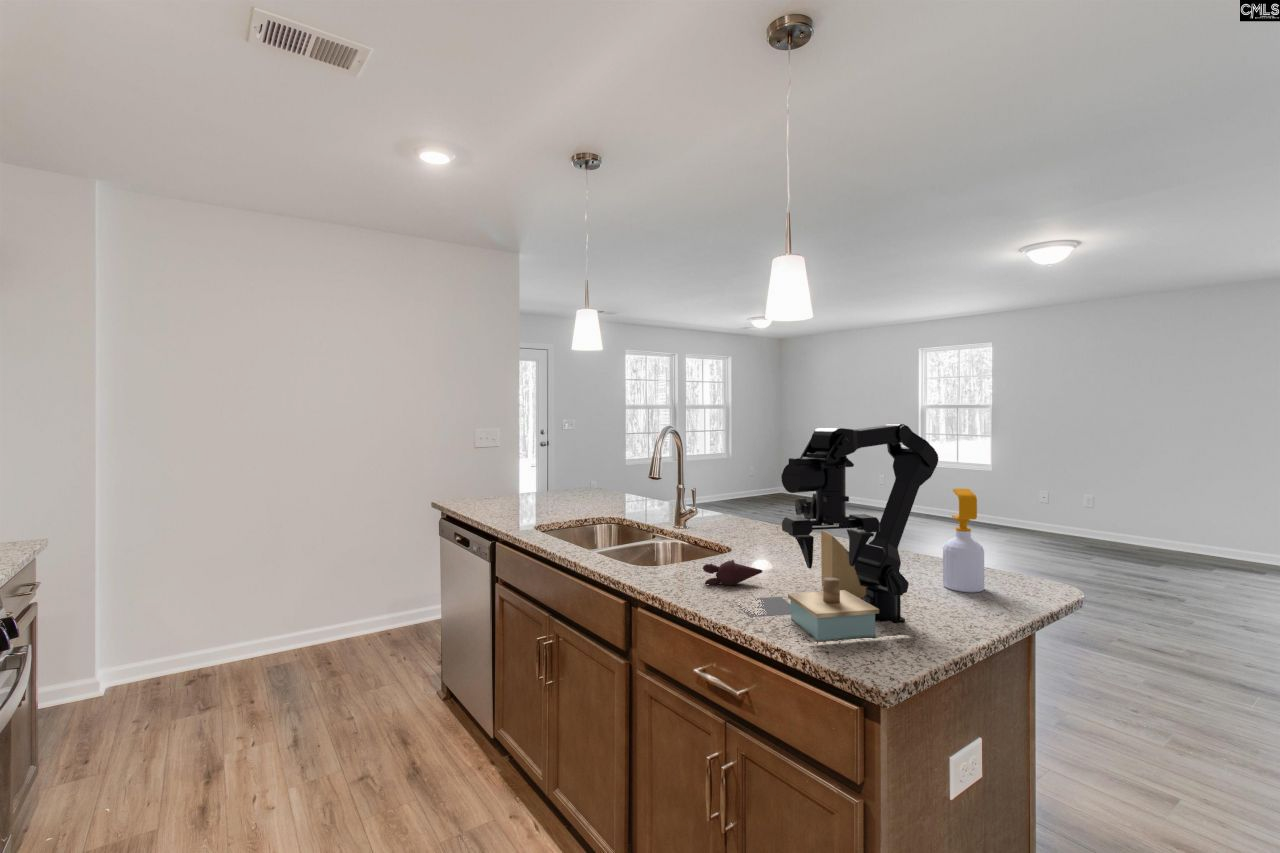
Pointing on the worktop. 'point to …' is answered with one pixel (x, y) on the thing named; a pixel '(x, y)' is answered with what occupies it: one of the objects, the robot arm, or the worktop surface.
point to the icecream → (729, 573)
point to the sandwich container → (839, 565)
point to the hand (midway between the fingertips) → (830, 567)
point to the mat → (772, 607)
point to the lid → (832, 601)
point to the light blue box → (833, 624)
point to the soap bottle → (964, 550)
